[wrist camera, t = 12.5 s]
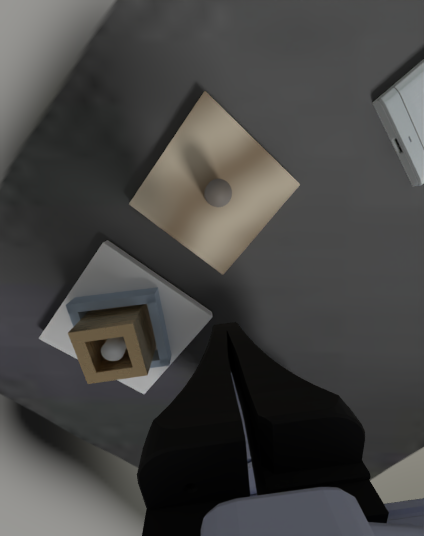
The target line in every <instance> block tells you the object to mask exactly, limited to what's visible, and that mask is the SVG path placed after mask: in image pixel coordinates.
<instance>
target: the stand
mask: <svg viewBox="0 0 424 536" xmlns="http://www.w3.org/2000/svg"><path fill="white" fill-rule="evenodd" d="M299 185H300V184H299V183H298V182H297V181H296V180H295V179H294V178H293V177H292V176H291V175H290V174H289V173H288V172H287V171H286V170H285V169H284V168H283V167H282V166H281V165H280V164H279V163H278V162H277V161H276V160H275V159H274V158H273V157H272V156H271V155H270V154H269V153H268V152H267V151H266V150H265V149H264V148H263V147H262V146H261V145H260V144H259V143H258V142H257V141H255V140H254V139H253V138H252V137H251V136H250V135H249V134H248V133H247V132H246V131H245V130H244V129H243V128H242V127H241V126H240V125H239V124H238V123H237V122H236V121H235V120H234V119H233V118H232V117H231V116H230V115H229V114H228V113H227V112H226V111H225V110H224V109H223V108H222V107H221V106H220V105H219V104H218V103H217V102H216V101H215V100H214V99H213V98H212V97H211V96H210V95H209V94H208V93H207V92H206V91H204V93H203V94H202V96H201V97H200V99H199V100H198V102H197V103H196V105H195V106H194V108H193V109H192V111H191V112H190V114H189V115H188V116H187V118H186V119H185V121H184V122H183V124H182V125H181V127H180V128H179V130H178V131H177V133H176V134H175V136H174V137H173V139H172V140H171V142H170V143H169V145H168V146H167V148H166V149H165V151H164V152H163V154H162V155H161V157H160V158H159V160H158V161H157V163H156V164H155V166H154V167H153V169H152V170H151V172H150V173H149V175H148V176H147V178H146V179H145V181H144V182H143V184H142V185H141V187H140V188H139V190H138V191H137V193H136V194H135V196H134V197H133V198H132V200H131V201H130V203H129V205H131V206H132V207H133V208H135V209H136V210H137V211H139V212H140V213H141V214H143V215H144V216H145V217H147V218H148V219H149V220H151V221H152V222H153V223H155V224H156V225H157V226H159V227H160V228H161V229H163V230H164V231H165V232H167V233H168V234H169V235H171V236H172V237H173V238H175V239H176V240H177V241H179V242H180V243H181V244H183V245H184V246H185V247H186V248H188V249H189V250H190V251H192V252H193V253H194V254H196V255H197V256H198V257H200V258H201V259H202V260H204V261H205V262H206V263H208V264H209V265H210V266H212V267H213V268H214V269H216V270H217V271H218V272H220V273H221V274H222V275H223V274H224V273H225V272H226V271H227V270H228V269H229V267H230V266H231V265H232V264H233V263H234V261H235V260H236V259H237V258H238V257H239V256H240V254H241V253H242V252H243V251H244V250H245V249H246V247H247V246H248V245H249V244H250V243H251V242H252V240H253V239H254V238H255V237H256V236H257V235H258V233H259V232H260V231H261V230H262V229H263V228H264V226H265V225H266V224H267V223H268V222H269V221H270V219H271V218H272V217H273V216H274V215H275V213H276V212H277V211H278V210H279V209H280V208H281V206H282V205H283V204H284V203H285V202H286V201H287V199H288V198H289V197H290V196H291V195H292V194H293V192H294V191H295V190H296V189H297V188H298V187H299Z"/></svg>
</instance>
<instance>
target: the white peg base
mask: <svg viewBox="0 0 424 536" xmlns="http://www.w3.org/2000/svg"><path fill="white" fill-rule="evenodd" d="M140 304H147V308H148V312H149V316H150V320H151V324H152V328H153V332H154V336H155V341H156V349H155V352H154V355H153V359H152V362H151V366H150V369H149V372H148V375H146V376H139V377H133V378H126V379H119V380H118V381H120V382H122V383H124V384H125V385H127V386H129V387H131V388H133V389H135V390H137V391H139V392H141V393H143V394H145V393H146V392H147V390H148V389H149V388H150V387H151V386H152V385H153V384H154V383H155V381H156V380H157V379H158V378H159V377H160V376H161V375H162V374H163V372H164V371H165V370H166V369H167V368H168V367H169V366H170V365H171V363H172V362H173V361H174V360H175V359H176V358H177V357H178V356H179V354H180V353H181V352H182V351H183V350H184V349H185V348H186V347H187V345H188V344H189V343H190V342H191V341H192V340H193V339H194V338H195V336H196V335H197V334H198V333H199V332H200V331H201V330H202V329H203V327H204V326H205V325H206V324H207V323H208V322H209V321H210V320H211V318H212V317H213V315H212V312H211V311H210V310H208V309H207V308H206V307H204V306H203V305H201V304H200V303H198V302H197V301H195V300H194V299H193V298H191V297H190V296H188V295H187V294H185V293H184V292H182V291H181V290H179V289H178V288H177V287H175V286H174V285H172V284H171V283H169V282H168V281H166V280H165V279H164V278H162V277H161V276H159V275H158V274H156V273H155V272H153V271H152V270H150V269H149V268H148V267H146V266H145V265H143V264H142V263H140V262H139V261H137V260H136V259H135V258H133V257H132V256H130V255H129V254H127V253H126V252H124V251H123V250H121V249H120V248H119V247H117V246H116V245H114V244H113V243H111V242H110V241H108V240H107V241H105V242H103V243H102V245H101V246H100V248H99V249H98V251H97V252H96V254H95V255H94V257H93V258H92V260H91V261H90V263H89V264H88V266H87V267H86V269H85V270H84V272H83V273H82V275H81V276H80V278H79V279H78V280H77V282H76V283H75V285H74V286H73V288H72V289H71V291H70V292H69V294H68V295H67V297H66V298H65V300H64V301H63V303H62V304H61V306H60V307H59V309H58V310H57V312H56V313H55V315H54V316H53V318H52V319H51V321H50V322H49V324H48V325H47V327H46V328H45V330H44V331H43V333H42V334H41V336H40V337H39V339H40V340H42V341H44V342H46V343H48V344H50V345H51V346H53V347H55V348H57V349H59V350H61V351H63V352H65V353H67V354H69V355H70V356H72V357H74V358H76V359H78V358H77V356H76V353H75V350H74V348H73V345H72V343H71V340H70V338H69V335H68V332H69V331H70V330H71V329H72V328H73V327H74V326H75V325H76V324H77V323H78V322H79V321H80V320H81V319H82V318H83V317H84V316H85V315H86V314H87V313H88V312H89V311H91V310H99V309H108V308H116V307H124V306H132V305H140ZM126 348H127V347H126V344H125V340H124V337H117V338H110V339H107V340H106V342H105V344H104V345H103V347H102V348H101V354H102V356H103V357H104V358H105V359H107V360H109V361H117V360H120V359H121V358H122V357H123V355H124V353H125V351H126Z"/></svg>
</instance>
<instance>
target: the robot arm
mask: <svg viewBox="0 0 424 536" xmlns="http://www.w3.org/2000/svg"><path fill="white" fill-rule="evenodd" d="M364 442H365V431H364V429H363V426H362V424H361V423H360V422H359V420H358V419H357V417H356V416H355V415H354V413H353V412H352V411H351V409H350V408H349V407H348V406H347V405H346V404H345V402H344V401H343V400H342V399H341V398H340V397H339V396H338V395H336V394H334V393H332V392H329V391H327V390H325V389H322V388H320V387H318V386H315V385H313V384H311V383H309V382H307V381H306V380H304V379H302V378H300V377H298V376H296V375H295V374H293V373H291V372H290V371H288V370H287V369H285V368H283V367H282V366H280V365H279V364H278V363H276V362H275V361H274V360H272V359H271V358H270V357H269V356H267V355H266V354H265V353H264V352H263V351H262V350H261V349H260V348H258V347H257V346H256V345H255V344H254V342H253V341H252V340H251V339H250V338H249V337H248V336H247V335H246V334H245V333H244V331H243V330H242V329H241V328H240V326H239V325H238V324H237V323H236V322H234V323H226V324H218V325H214V326H213V328H212V334H211V338H210V341H209V343H208V346H207V349H206V351H205V353H204V355H203V358H202V360H201V362H200V364H199V365H198V367H197V369H196V371H195V372H194V374H193V375H192V377H191V378H190V380H189V381H188V383H187V384H186V386H185V387H184V388H183V390H182V391H181V392H180V393H179V394H178V396H177V397H176V398H175V399H174V400H173V401H172V403H171V404H170V405H169V406H168V407H167V408H166V409H165V410H164V411H163V412H162V413H161V414H160V415H159V416H158V417H157V418H155V419H154V420H153V422H152V425H151V427H150V430H149V432H148V435H147V438H146V441H145V444H144V447H143V450H142V455H141V459H140V464H139V468H138V473H137V479H138V484H139V487H140V490H141V493H142V496H143V499H144V502H145V505H146V508H147V510H146V516H145V522H144V527H143V533H142V536H424V498H423V499H416V500H408V501H401V502H394V503H387V504H383V502H382V500H381V499H380V497H379V495H378V494H377V492H376V490H375V489H374V487H373V485H372V484H371V482H370V480H369V479H370V473H369V471H368V469H367V468H366V466H365V465H364V463H363V461H362V455H363V449H364Z"/></svg>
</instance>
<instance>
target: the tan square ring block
mask: <svg viewBox="0 0 424 536" xmlns="http://www.w3.org/2000/svg"><path fill="white" fill-rule="evenodd" d="M68 335H69V338H70V340H71V343H72V345H73V348H74V350H75V353H76V356H77V358H78V361H79V363H80V366H81V368H82V371H83V373H84V376H85V378H86V381H87V383H88V384H91V383H98V382H105V381H112V380H119V379H126V378H133V377H139V376H146V375H148V372H149V369H150V366H151V362H152V359H153V355H154V352H155V349H156V341H155V336H154V332H153V328H152V324H151V320H150V316H149V312H148V308H147V304H140V305H132V306H124V307H116V308H108V309H99V310H91V311H89V312H88V313H87V314H86V315H85V316H84V317H83V318H82V319H81V320H80V321H79V322H78V323H77V324H76V325H75V326H74V327H73V328H72V329H71V330H70V331H69V332H68ZM117 337H124V340H125V344H126V347H127V348H126V351H125V353H124V355H123V357H122V358H121V359H120V360H117V361H109V360H107V359H105V358H104V357H103V356H102V354H101V348H102V347H103V345H104V344H105V342H106V340H107V339H110V338H117Z"/></svg>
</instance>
